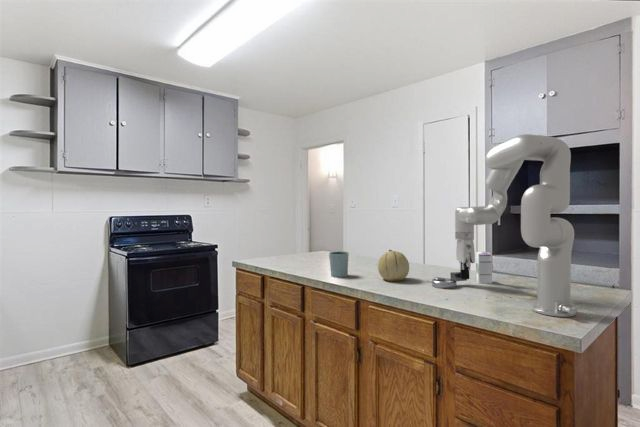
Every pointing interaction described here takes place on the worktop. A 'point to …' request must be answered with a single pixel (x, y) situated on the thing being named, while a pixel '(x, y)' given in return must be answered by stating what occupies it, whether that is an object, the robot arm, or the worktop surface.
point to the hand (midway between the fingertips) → (464, 278)
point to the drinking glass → (339, 264)
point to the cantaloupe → (393, 266)
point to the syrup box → (484, 267)
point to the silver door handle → (447, 281)
